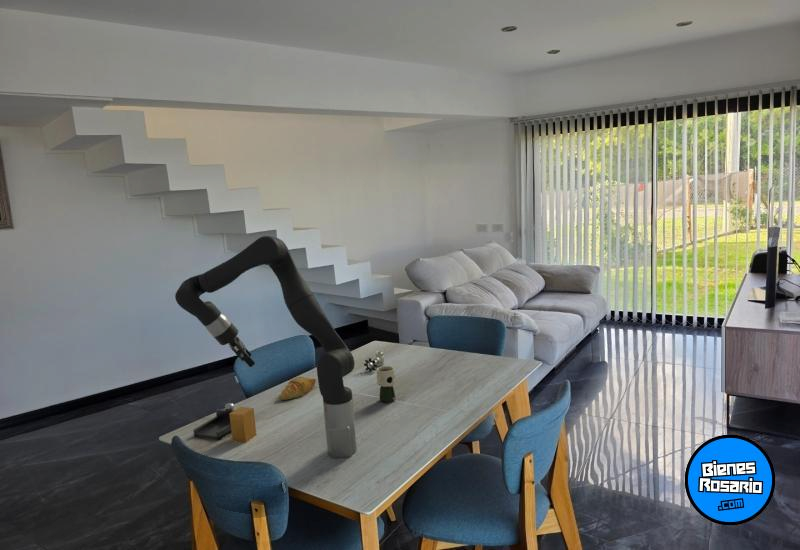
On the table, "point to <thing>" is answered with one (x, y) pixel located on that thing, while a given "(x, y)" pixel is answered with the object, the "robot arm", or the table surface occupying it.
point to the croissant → (297, 388)
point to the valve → (375, 361)
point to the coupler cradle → (216, 424)
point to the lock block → (242, 424)
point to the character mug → (386, 382)
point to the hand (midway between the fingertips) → (251, 360)
